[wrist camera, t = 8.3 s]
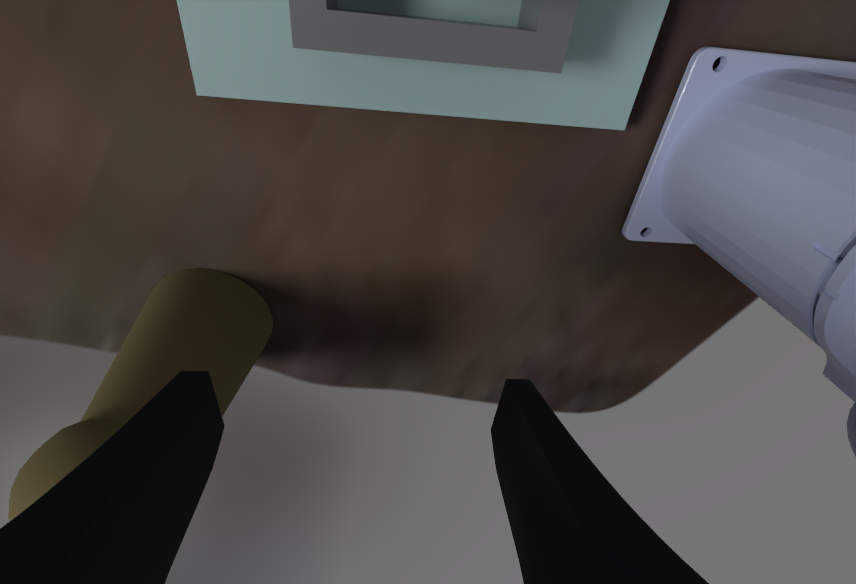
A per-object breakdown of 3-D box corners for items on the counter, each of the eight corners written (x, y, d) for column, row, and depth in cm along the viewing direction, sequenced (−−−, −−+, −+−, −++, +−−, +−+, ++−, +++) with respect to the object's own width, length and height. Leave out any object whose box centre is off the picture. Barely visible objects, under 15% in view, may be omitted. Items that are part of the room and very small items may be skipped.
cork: (291, 346, 23) (224, 567, 14) (191, 368, 23) (65, 594, 15) (239, 255, 20) (106, 473, 11) (123, 283, 20) (-99, 513, 11)
